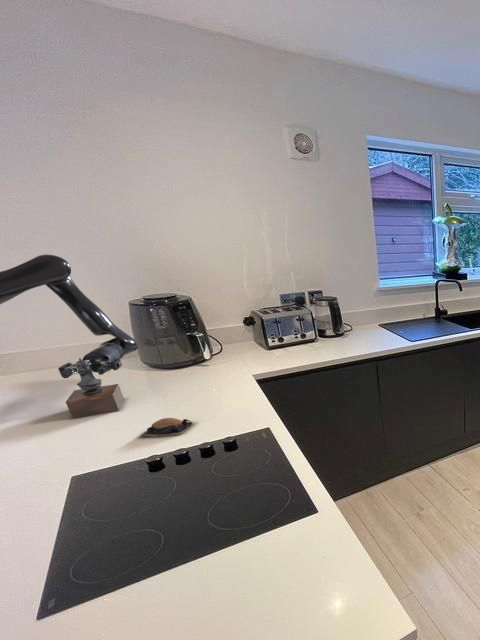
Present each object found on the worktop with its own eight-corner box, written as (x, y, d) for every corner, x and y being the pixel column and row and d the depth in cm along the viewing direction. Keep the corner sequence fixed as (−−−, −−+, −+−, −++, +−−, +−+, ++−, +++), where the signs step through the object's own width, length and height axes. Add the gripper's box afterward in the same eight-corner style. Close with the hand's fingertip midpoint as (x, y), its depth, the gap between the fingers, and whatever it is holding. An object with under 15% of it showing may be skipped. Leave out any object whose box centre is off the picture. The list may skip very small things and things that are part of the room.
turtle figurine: (140, 438, 118) (135, 427, 116) (158, 425, 125) (154, 414, 124) (180, 436, 119) (176, 425, 118) (195, 422, 127) (192, 412, 126)
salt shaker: (81, 397, 129) (66, 362, 124) (80, 392, 132) (66, 357, 128) (106, 392, 133) (93, 358, 128) (104, 387, 136) (91, 354, 132)
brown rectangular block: (72, 418, 128) (65, 401, 125) (80, 406, 136) (74, 390, 134) (119, 410, 134) (112, 394, 131) (124, 399, 142) (118, 383, 140)
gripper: (71, 351, 137) (46, 365, 124) (124, 346, 143) (107, 360, 130) (79, 371, 140) (56, 387, 126) (131, 366, 146) (115, 381, 132)
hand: (82, 373), depth 128 cm, fingers open, 8 cm apart
